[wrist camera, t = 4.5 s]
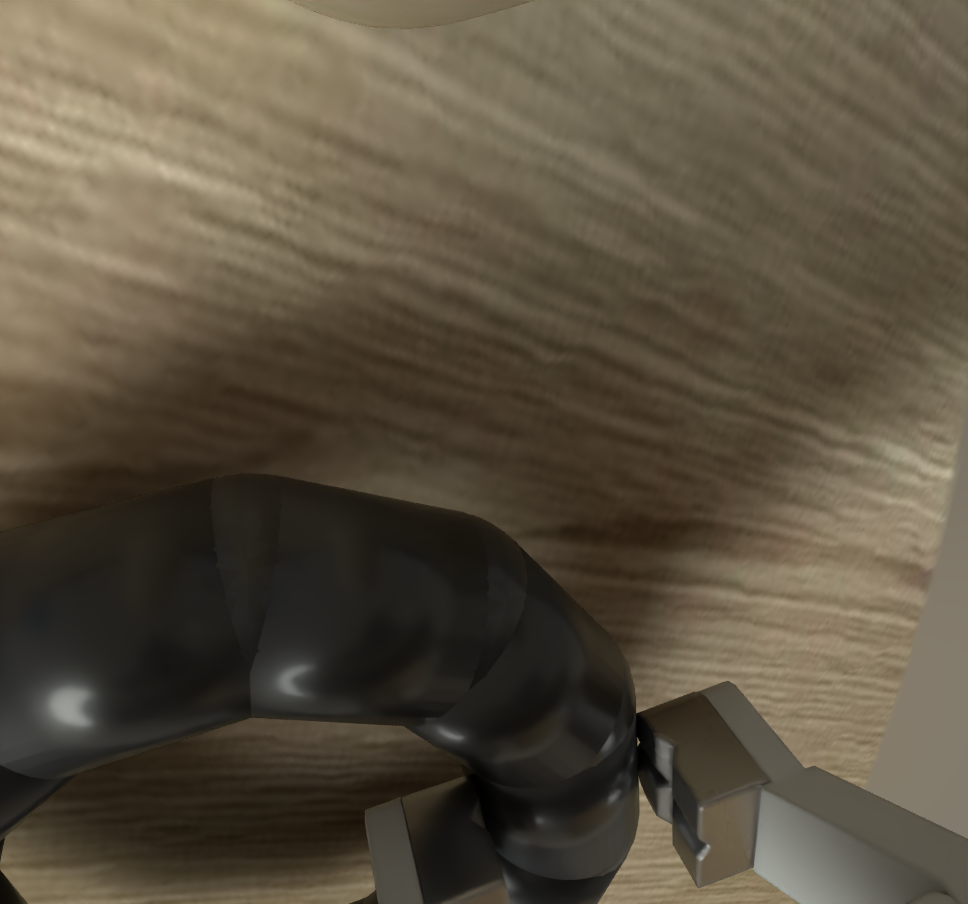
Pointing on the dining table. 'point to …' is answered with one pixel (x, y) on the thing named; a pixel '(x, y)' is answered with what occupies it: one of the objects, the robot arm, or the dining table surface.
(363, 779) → the dining table surface
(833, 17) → the dining table surface
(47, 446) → the dining table surface
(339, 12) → the candle
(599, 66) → the dining table surface
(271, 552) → the ring
